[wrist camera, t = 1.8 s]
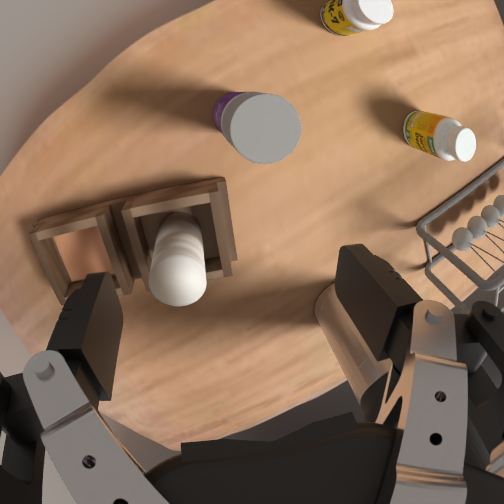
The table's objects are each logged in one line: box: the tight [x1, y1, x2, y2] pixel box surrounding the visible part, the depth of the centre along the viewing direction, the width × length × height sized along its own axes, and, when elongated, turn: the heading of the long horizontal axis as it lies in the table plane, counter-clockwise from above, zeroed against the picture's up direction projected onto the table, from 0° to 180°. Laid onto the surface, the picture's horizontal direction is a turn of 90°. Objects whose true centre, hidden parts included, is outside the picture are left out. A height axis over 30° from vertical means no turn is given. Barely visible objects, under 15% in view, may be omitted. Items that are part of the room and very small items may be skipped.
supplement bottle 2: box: [403, 111, 476, 162], centre depth 30 cm, size 5×5×10 cm
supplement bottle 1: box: [320, 0, 393, 36], centre depth 22 cm, size 5×5×8 cm
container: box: [213, 92, 301, 164], centre depth 24 cm, size 5×5×15 cm
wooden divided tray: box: [29, 177, 237, 306], centre depth 30 cm, size 24×10×12 cm, turn 96°
